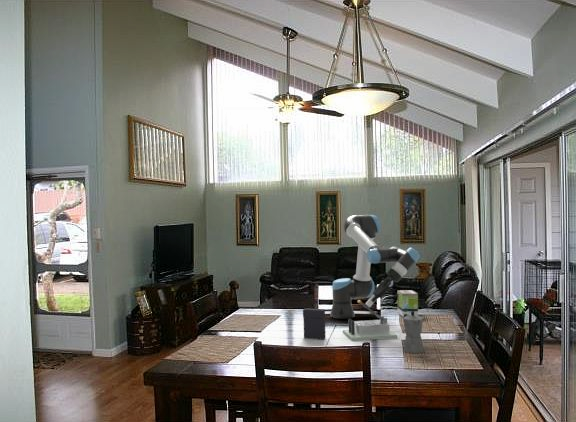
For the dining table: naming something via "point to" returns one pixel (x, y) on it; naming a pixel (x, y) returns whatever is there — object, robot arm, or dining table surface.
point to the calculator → (314, 323)
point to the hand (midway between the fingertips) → (367, 305)
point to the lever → (369, 309)
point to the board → (369, 336)
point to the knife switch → (369, 327)
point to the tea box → (407, 302)
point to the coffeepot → (413, 333)
